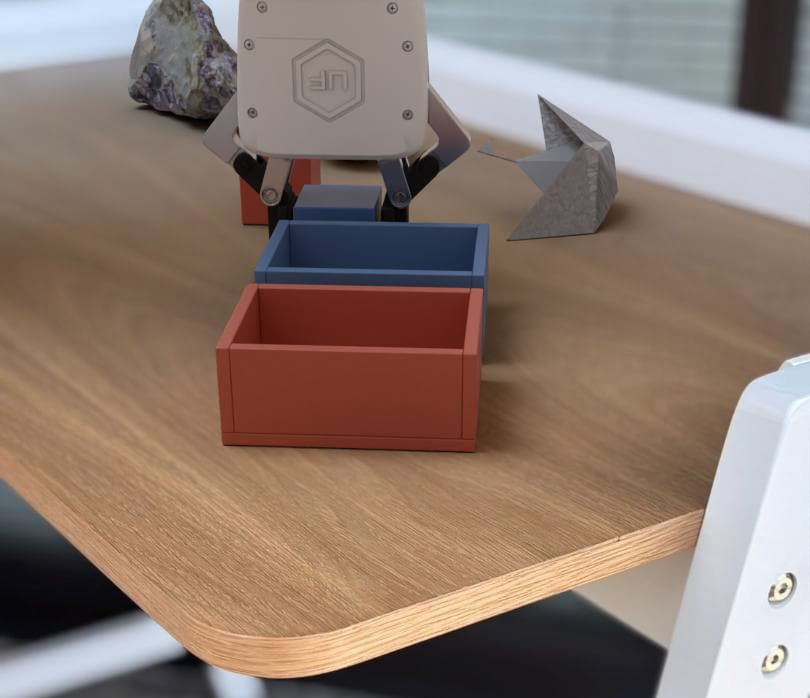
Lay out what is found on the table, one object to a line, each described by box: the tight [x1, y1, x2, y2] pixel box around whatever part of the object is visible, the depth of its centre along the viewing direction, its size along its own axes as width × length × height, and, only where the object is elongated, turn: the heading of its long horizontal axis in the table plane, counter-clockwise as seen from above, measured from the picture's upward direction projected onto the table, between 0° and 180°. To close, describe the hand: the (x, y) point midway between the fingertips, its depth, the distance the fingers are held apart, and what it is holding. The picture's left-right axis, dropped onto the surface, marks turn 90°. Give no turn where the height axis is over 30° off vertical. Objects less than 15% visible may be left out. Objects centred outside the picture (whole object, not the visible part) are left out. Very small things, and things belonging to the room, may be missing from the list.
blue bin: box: [253, 220, 490, 364], centre depth 77 cm, size 11×8×5 cm
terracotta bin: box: [214, 283, 483, 453], centre depth 68 cm, size 11×8×5 cm
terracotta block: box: [238, 156, 322, 226], centre depth 95 cm, size 4×4×4 cm
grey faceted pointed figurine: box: [476, 94, 619, 241], centre depth 94 cm, size 12×6×9 cm
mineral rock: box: [127, 0, 237, 120], centre depth 116 cm, size 13×11×10 cm
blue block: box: [293, 184, 383, 222], centre depth 85 cm, size 4×4×4 cm
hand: (340, 265), depth 86 cm, fingers open, 5 cm apart
